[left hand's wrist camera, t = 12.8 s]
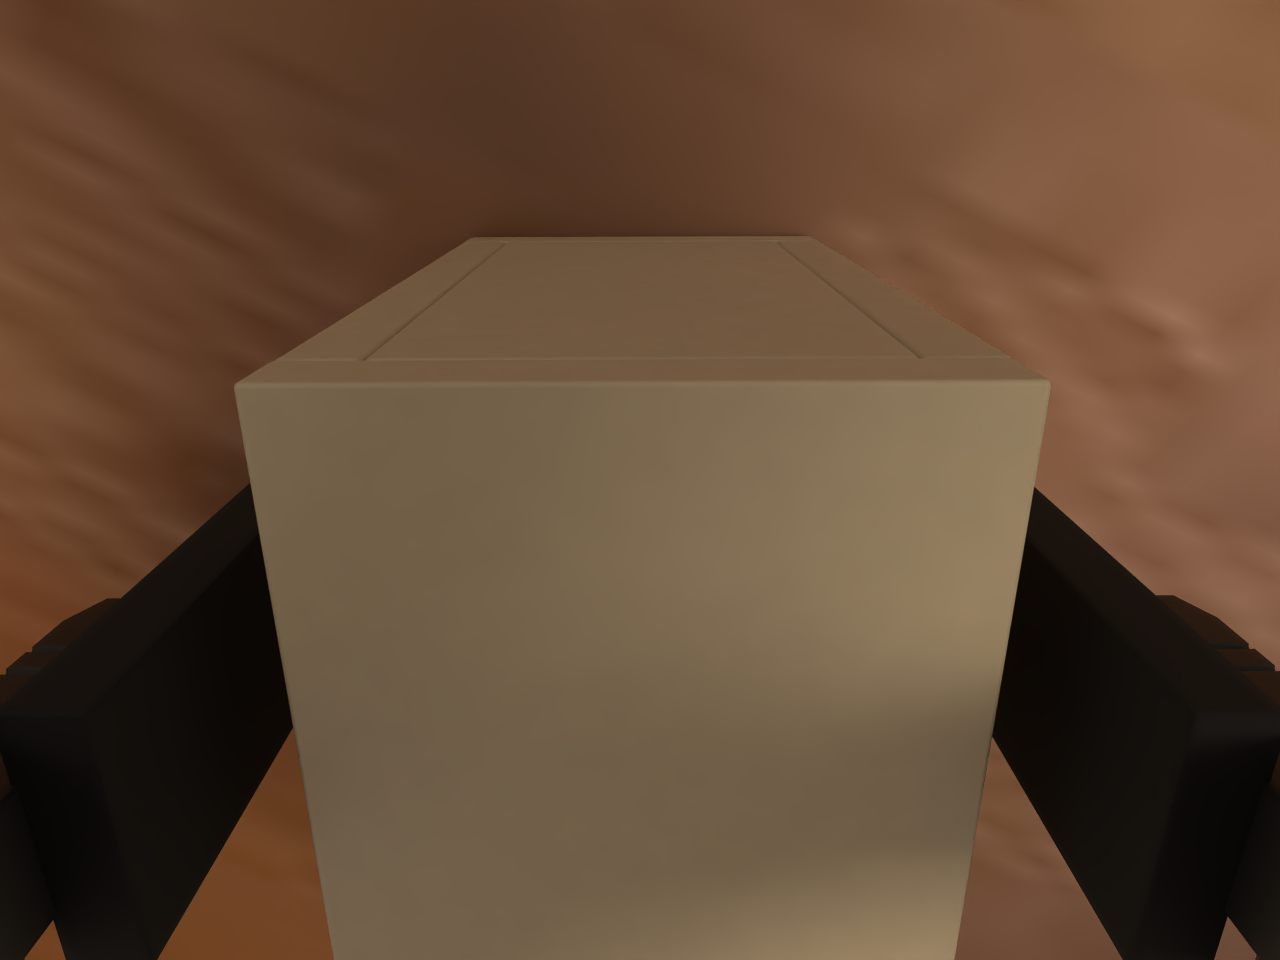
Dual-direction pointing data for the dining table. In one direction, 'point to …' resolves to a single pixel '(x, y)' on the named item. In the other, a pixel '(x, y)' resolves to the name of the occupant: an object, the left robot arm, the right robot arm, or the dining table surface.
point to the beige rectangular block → (643, 601)
